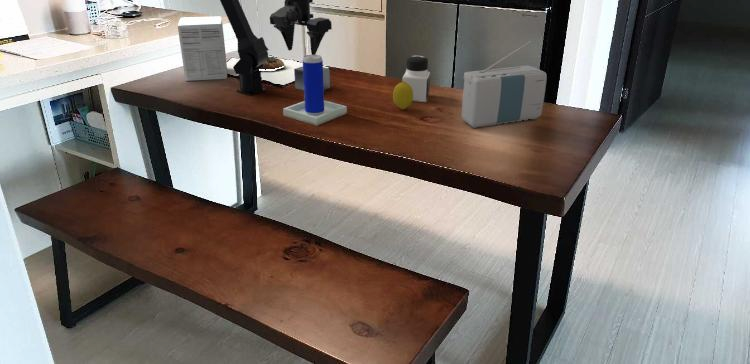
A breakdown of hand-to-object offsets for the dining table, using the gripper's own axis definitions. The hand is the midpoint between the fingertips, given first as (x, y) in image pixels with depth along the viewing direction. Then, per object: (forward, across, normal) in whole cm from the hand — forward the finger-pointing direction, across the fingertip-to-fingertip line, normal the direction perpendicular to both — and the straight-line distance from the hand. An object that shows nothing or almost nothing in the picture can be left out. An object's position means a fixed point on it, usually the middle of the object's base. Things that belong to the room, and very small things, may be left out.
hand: (301, 52), depth 159 cm
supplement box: (+13, -41, -3) cm, 43 cm away
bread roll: (+14, -32, +16) cm, 38 cm away
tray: (+13, +13, -9) cm, 20 cm away
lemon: (+13, +29, +9) cm, 33 cm away
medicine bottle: (+13, +26, +20) cm, 35 cm away
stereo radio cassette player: (+13, +54, +18) cm, 58 cm away
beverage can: (+13, +13, -9) cm, 20 cm away
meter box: (+13, -4, +8) cm, 16 cm away
